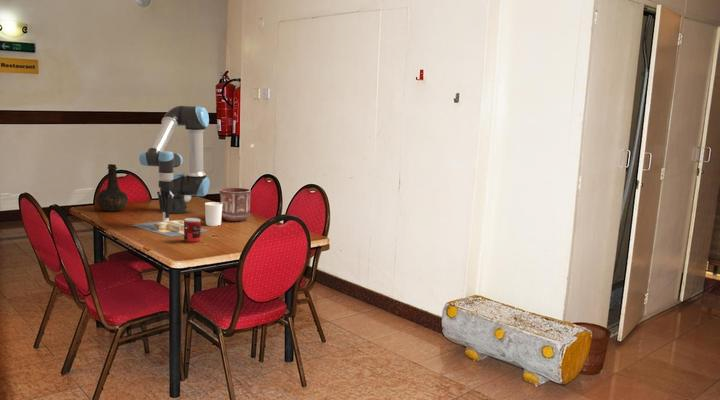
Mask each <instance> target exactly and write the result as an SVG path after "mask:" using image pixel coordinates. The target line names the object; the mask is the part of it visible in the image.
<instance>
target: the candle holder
mask: <svg viewBox="0 0 720 400" xmlns="http://www.w3.org/2000/svg"><path fill="white" fill-rule="evenodd" d="M222 206H223V204H222V203H221V202H218V201H217V202H216V201H212V202H211V201H209V202H205V203H204V210H205V211H204V215H205V225H206V226H208V227H209V226H210V227H217V226H218V225H219V226H221V225H222V219H223V217H222Z"/></svg>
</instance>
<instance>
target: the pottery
mask: <svg viewBox="0 0 720 400" xmlns="http://www.w3.org/2000/svg"><path fill="white" fill-rule="evenodd" d="M251 195H252V190H251V189H249V188H244V187H224V188H220V189H219V197H220V198H219V199H220V203H222V204H223V206H222V219H224V220H225V221H226V222H230V221H233V223H237V222H236V221H241V222H245V221H246V220H247V219H248V217H249V216H250V211H251ZM234 221H235V222H234Z"/></svg>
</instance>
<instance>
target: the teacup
mask: <svg viewBox="0 0 720 400" xmlns="http://www.w3.org/2000/svg"><path fill="white" fill-rule="evenodd" d="M184 199H185V203H186V204H187V203H189V202H190V201H191V200H192V196H189V195H184Z"/></svg>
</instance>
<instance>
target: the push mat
mask: <svg viewBox="0 0 720 400" xmlns="http://www.w3.org/2000/svg"><path fill="white" fill-rule="evenodd" d="M169 221H173V220H171V219H169ZM160 222H163V220H159V221H150V222H144V223H137V224H131V225H130V226H131V227H134V226H135V227H134V228H138V229H140V230H141V229H142V230H145V231H147V232H148V231H149V232H151V233H155V234H158V235H161V236H166V237H168V238H174V237H181V236H184V232H177V231H173V230H170V229H166V230H156V229H154V223H160ZM204 232H205V233H206V232H210V230H208V229H205V228H201V233H204Z"/></svg>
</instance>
